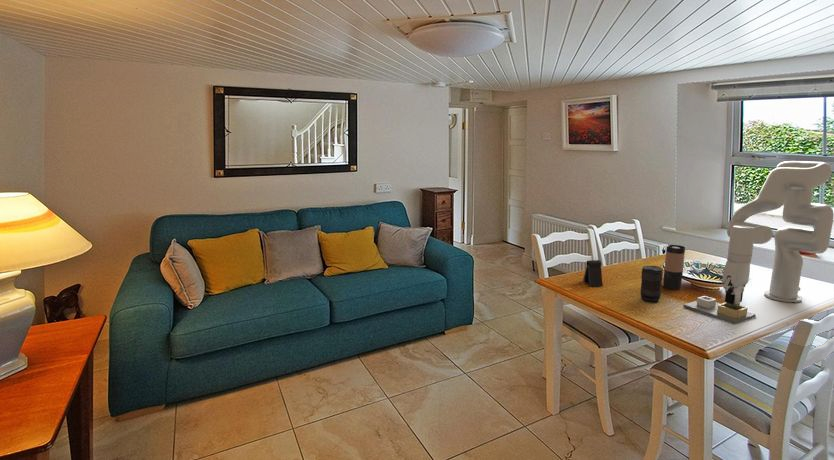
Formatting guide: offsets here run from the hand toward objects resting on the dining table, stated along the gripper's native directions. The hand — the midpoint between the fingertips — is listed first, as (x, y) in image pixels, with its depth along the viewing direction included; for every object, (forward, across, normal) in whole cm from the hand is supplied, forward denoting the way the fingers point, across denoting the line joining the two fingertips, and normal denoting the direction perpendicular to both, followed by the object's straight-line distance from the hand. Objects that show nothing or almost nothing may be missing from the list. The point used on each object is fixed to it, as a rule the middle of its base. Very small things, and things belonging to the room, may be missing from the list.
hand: (733, 301), depth 172 cm
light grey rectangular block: (+3, 0, 0) cm, 3 cm away
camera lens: (+7, +12, -27) cm, 30 cm away
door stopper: (+7, +16, -55) cm, 58 cm away
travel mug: (+6, -12, -33) cm, 36 cm away
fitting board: (+6, 0, -5) cm, 8 cm away
